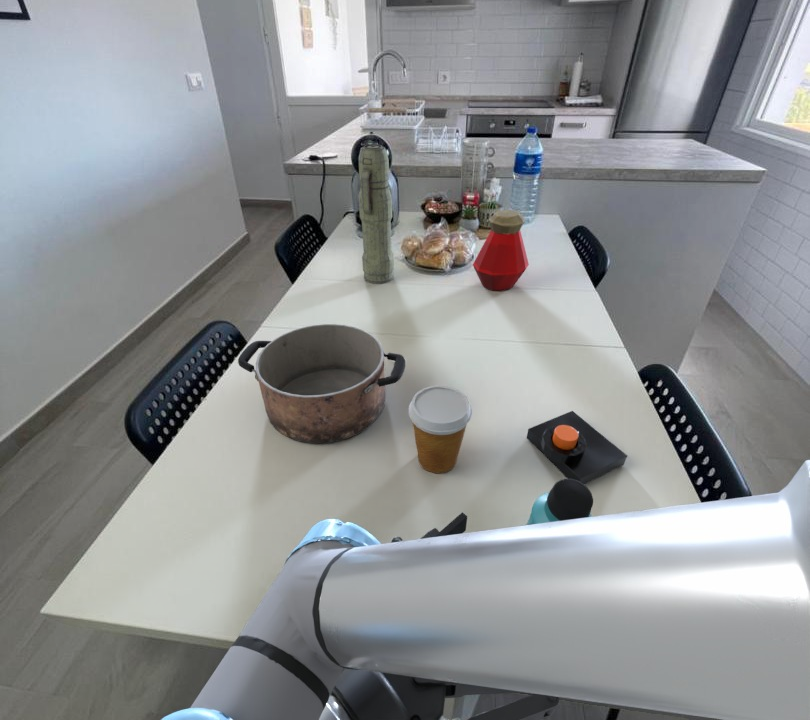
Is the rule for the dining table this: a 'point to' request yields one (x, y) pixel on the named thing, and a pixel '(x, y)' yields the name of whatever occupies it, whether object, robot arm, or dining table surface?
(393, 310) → the dining table surface
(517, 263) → the bottle
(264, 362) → the cooking pot
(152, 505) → the dining table surface
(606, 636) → the robot arm
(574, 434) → the button
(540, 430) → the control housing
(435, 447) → the disposable coffee cup
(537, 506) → the beverage bottle
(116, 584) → the dining table surface
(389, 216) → the thermos
